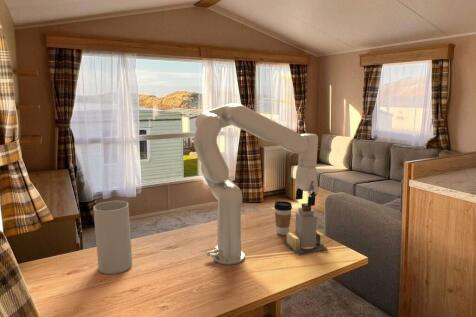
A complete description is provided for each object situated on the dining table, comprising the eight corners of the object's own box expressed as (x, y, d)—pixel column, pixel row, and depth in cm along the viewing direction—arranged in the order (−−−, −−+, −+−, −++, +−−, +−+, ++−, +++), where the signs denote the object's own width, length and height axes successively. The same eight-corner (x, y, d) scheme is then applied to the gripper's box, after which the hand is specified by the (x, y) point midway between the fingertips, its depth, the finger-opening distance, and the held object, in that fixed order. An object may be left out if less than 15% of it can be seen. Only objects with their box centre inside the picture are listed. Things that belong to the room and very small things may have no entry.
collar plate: (298, 255, 148) (299, 241, 147) (283, 243, 160) (284, 230, 159) (327, 250, 153) (327, 236, 152) (310, 238, 165) (311, 226, 164)
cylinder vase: (138, 261, 144) (134, 202, 139) (120, 276, 132) (115, 212, 127) (111, 258, 147) (107, 199, 142) (91, 272, 135) (86, 209, 131)
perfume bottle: (315, 246, 154) (317, 206, 151) (301, 247, 153) (302, 207, 149) (309, 240, 161) (310, 201, 157) (295, 241, 159) (296, 202, 156)
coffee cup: (271, 230, 175) (271, 201, 173) (286, 228, 178) (287, 199, 175) (278, 236, 168) (278, 206, 165) (294, 234, 170) (295, 204, 167)
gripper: (289, 159, 156) (287, 197, 159) (310, 167, 141) (308, 209, 144) (304, 159, 159) (302, 196, 162) (326, 166, 143) (324, 207, 146)
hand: (304, 202), depth 153 cm, fingers open, 9 cm apart
